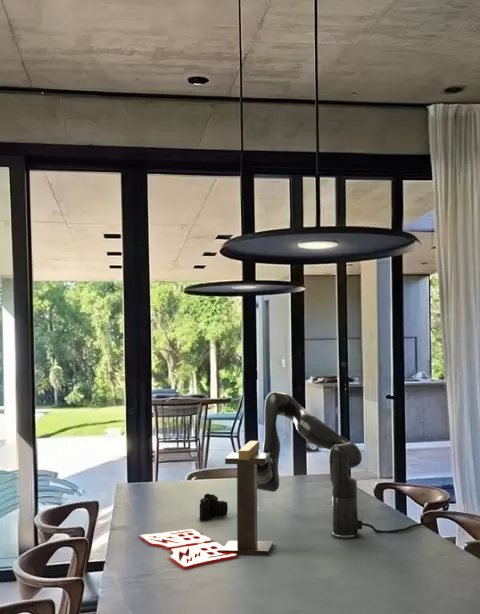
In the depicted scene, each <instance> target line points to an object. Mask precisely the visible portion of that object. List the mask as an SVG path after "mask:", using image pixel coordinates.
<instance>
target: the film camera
mask: <svg viewBox="0 0 480 614" xmlns="http://www.w3.org/2000/svg"><path fill="white" fill-rule="evenodd" d="M199 502H200V503H199V521H201V522H207V521H209V520H210V519H212V518H219V517H220V518H224V517H227V515H228V511H229V510H228V509H229V506H228V505H229V504H228V502H227V501H225V500H219V497H218V496H217V495H215V494H213V493H212V494H211V493H205V494H204V496H203V498H200V499H199Z"/></svg>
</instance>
